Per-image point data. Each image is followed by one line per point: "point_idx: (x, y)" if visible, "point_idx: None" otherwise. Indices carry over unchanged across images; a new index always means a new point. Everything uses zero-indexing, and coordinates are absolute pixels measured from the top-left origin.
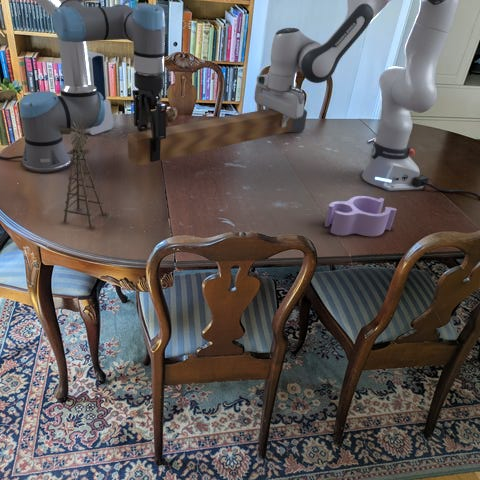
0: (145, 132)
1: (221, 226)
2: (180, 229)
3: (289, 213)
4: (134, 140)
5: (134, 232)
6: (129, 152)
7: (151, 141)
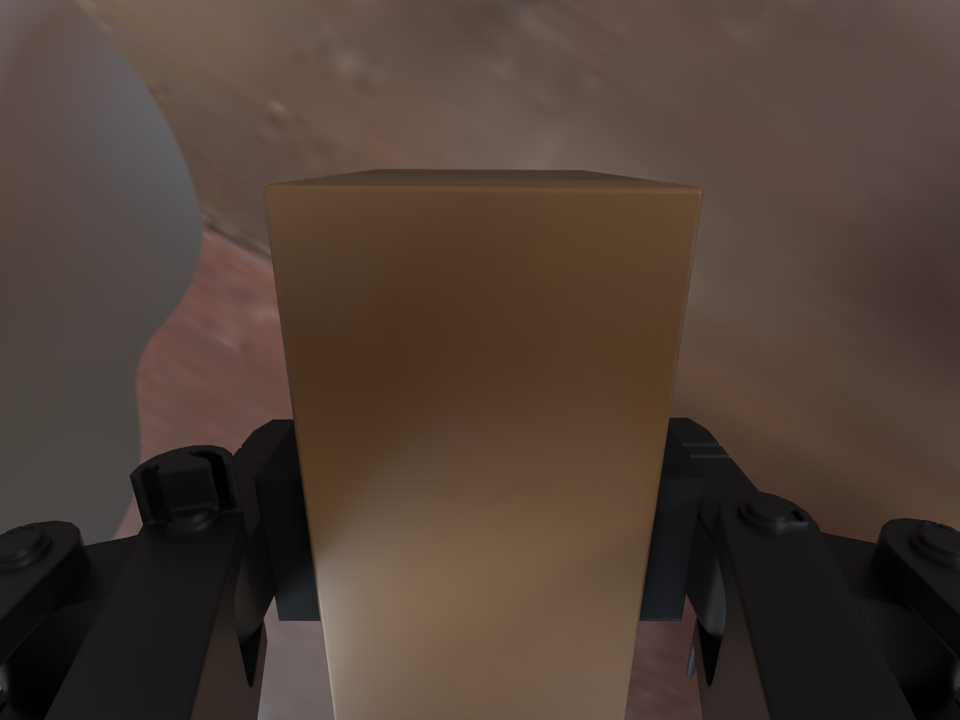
0: (579, 542)
1: None
2: (220, 281)
3: None
4: (383, 183)
5: (291, 47)
6: (564, 172)
7: (272, 458)
